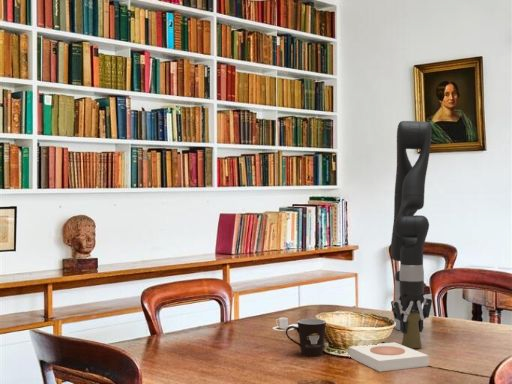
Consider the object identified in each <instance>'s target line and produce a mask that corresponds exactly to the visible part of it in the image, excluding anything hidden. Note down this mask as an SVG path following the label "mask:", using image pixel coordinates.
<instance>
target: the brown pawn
mask: <svg viewBox="0 0 512 384" xmlns="http://www.w3.org/2000/svg"><path fill="white" fill-rule="evenodd" d="M419 320H420V314H419V313H418V312H416V311H410V314H409V315H408V317H407V320H406V322H407V333H406V334H404V333H402V342H401V345H403V346H406V347H408V348H411V349H419V348H422V341H421V340H422V339H421V332H420V331H419V324H418V322H419Z"/></svg>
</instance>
